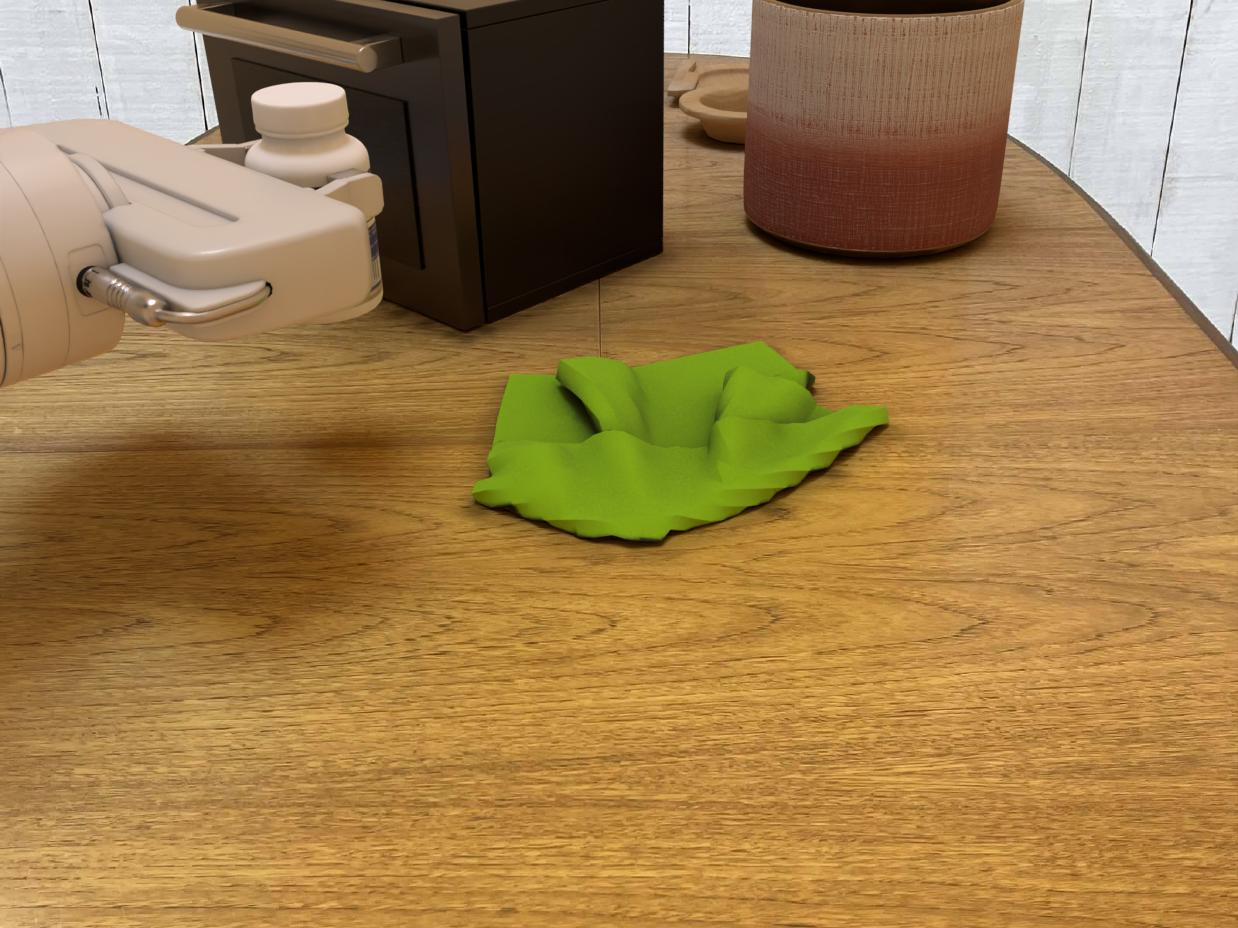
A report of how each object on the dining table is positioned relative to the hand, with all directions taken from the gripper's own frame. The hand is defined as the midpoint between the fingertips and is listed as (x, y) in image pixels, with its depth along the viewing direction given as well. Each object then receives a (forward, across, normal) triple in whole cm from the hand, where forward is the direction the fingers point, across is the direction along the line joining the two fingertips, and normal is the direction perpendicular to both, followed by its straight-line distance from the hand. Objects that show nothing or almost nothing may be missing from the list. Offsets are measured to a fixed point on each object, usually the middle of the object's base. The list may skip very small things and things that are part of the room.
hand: (325, 173), depth 56 cm
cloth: (+12, -12, +14) cm, 21 cm away
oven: (+22, +18, +14) cm, 31 cm away
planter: (+44, -1, +14) cm, 46 cm away
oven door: (+11, +18, +14) cm, 25 cm away
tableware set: (+56, +30, +14) cm, 66 cm away
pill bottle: (-1, 0, +6) cm, 6 cm away
